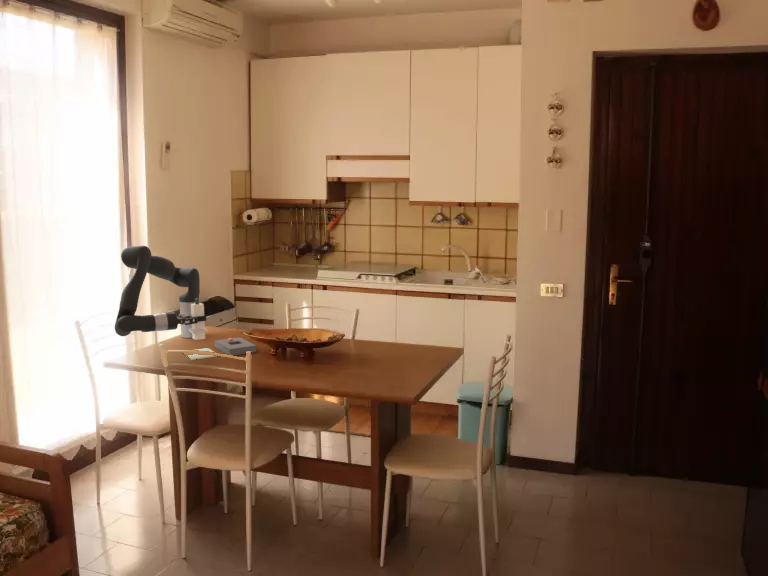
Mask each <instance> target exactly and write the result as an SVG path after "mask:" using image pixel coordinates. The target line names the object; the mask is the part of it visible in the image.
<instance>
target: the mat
mask: <svg viewBox="0 0 768 576" xmlns="http://www.w3.org/2000/svg"><path fill="white" fill-rule="evenodd" d="M194 350H199V351H209V352H215V351H214V350H212V349H211V348H208V347H204V348H198V349H194ZM188 357H189V358H190V360H191V361H197V360H204V359H209V358H211V359H212V358H217V356H213V355H198V354H193V355H188ZM188 357H187V358H188ZM189 358H188V359H189ZM196 359H197V360H196Z"/></svg>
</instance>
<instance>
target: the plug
mask: <svg viewBox="0 0 768 576" xmlns="http://www.w3.org/2000/svg"><path fill="white" fill-rule="evenodd" d="M191 316H192V317H195V316H205V304H204V303H201V302H200V297H199V298H195V303H194V304H191ZM193 321H195V320H194V319H193ZM205 322H206V321H200V322H198V323H195V324H192V328H191V329H189V331H190V332H191V333H192V339H193V340H195V341H196V340H205V339H206V333H208V332H209V329H208V328H206V324H205Z"/></svg>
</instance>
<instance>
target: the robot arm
mask: <svg viewBox="0 0 768 576" xmlns="http://www.w3.org/2000/svg"><path fill="white" fill-rule="evenodd" d="M120 258H121V261H122V263H123V265H124V266H125V267H126V268H129V269H133V270H135V272H134V274H133V276H132V277H131V278H130V280H129V281H128V282H127V284H126V285H125V287H124V288H123V291H122V293H121V297H120V301H119V309H118V313H117V317H116V319H115V324H114V330H115V331H114V332H115V333H116V335H118V336H120V337H127V336H129V335H130V334H131V333H132V332H138V331H139V332H142V333H148V332H163V331H171V330H176V329H178V327H179V326H178V325H180V333H181V338H185V339H191V338H192V333H191V332H190V331H189V329H191V328H192V324H195V323H198V322H200V321H205V322H206V321H207V316H206V315H204V316H195V317H192V316H191V304H194V303H195V298H199V299H200V292H201V291H200V283H201V282H200V273H199V270H198V269H197V268H196V267H195V268H194V267H176V266H175V264H174V262H173V261H172V260H170V259H168V258H165V257H163V256H159V255H152V252H151V249H150V248H149V247H148V246H146V245H133V246H132V245H130V246H127V247H125V248H124V249H123V250H122V251H121V254H120ZM147 274H149V275H151V276H154V277H157V278H159V279H162V280H165V281H169V282H171V283H172V284H174V285H176V286H177V287H180V288H188V289H187V292H185V293H183V294H180V295H179V297H178V302H179V313H178V314H177V313H176V312H175V311H169V312H168V311H167V312H158V313H154V314H145V315H135V314H136V312H137V310H138V309H137V308H138V304H139V301H140V294H141V292H142V291H141V290H142V287H143V284H144V283H145V282H144V281H145V279H146V277H147ZM193 319H194V320H195V321H193ZM192 339H193V338H192Z"/></svg>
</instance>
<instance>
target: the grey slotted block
mask: <svg viewBox="0 0 768 576" xmlns="http://www.w3.org/2000/svg"><path fill="white" fill-rule="evenodd" d="M214 347H215V348H216V349H218V350H220V351H221V352H223V353H224V354H226V355H228V354H231V355H233V356H239V355H245V353H246V351H252V353H253V354H254V353H257V345H256V344H255V343H252V342H250V341H249V340H246V339H245V338H242V337H241V336H239V337H228V338H224V339H218V340H214ZM252 353H251V354H252ZM246 354H247V353H246Z"/></svg>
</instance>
